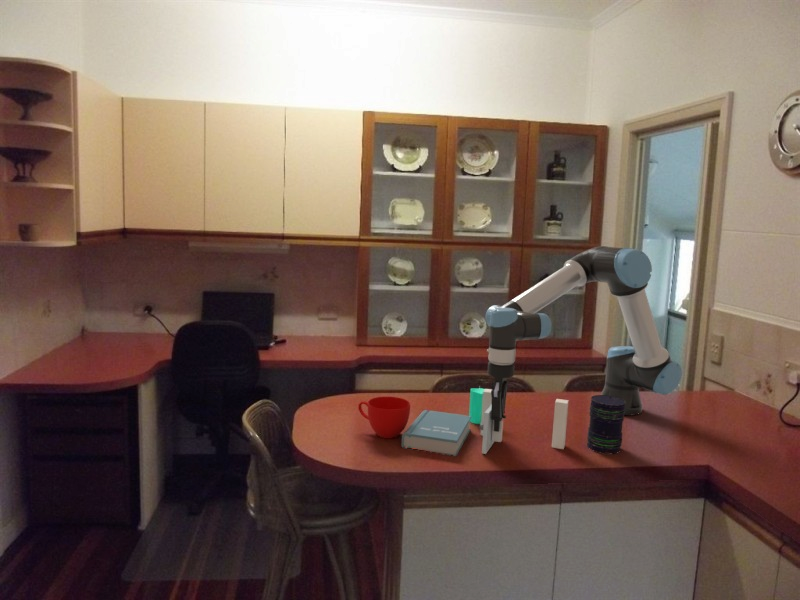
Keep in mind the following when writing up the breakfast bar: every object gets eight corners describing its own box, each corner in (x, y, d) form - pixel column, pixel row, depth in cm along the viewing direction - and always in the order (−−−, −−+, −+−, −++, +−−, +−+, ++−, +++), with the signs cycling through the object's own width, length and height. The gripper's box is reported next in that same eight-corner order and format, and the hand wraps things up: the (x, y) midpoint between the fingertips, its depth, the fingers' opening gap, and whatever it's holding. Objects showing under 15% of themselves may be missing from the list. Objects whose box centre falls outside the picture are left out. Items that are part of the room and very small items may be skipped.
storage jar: (616, 457, 173) (621, 407, 171) (582, 449, 178) (586, 400, 176) (624, 446, 181) (629, 399, 179) (591, 439, 187) (595, 392, 184)
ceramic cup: (368, 421, 194) (369, 391, 192) (415, 432, 186) (417, 401, 185) (347, 434, 182) (348, 402, 181) (397, 445, 175) (398, 412, 173)
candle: (466, 422, 198) (468, 386, 196) (471, 416, 203) (473, 382, 201) (484, 425, 195) (486, 389, 194) (488, 419, 201) (490, 384, 199)
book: (455, 457, 169) (456, 440, 168) (401, 449, 174) (402, 432, 173) (470, 431, 190) (471, 416, 190) (421, 424, 195) (422, 409, 194)
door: (485, 453, 171) (488, 413, 169) (476, 452, 172) (478, 411, 170) (498, 435, 185) (501, 398, 184) (489, 434, 186) (492, 396, 185)
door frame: (564, 445, 181) (568, 400, 179) (563, 449, 177) (567, 403, 175) (482, 431, 189) (485, 388, 187) (480, 435, 186) (483, 391, 184)
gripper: (493, 355, 180) (488, 431, 183) (483, 365, 167) (479, 446, 171) (518, 358, 177) (513, 434, 180) (510, 368, 165) (505, 450, 168)
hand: (496, 440), depth 176 cm, fingers closed
